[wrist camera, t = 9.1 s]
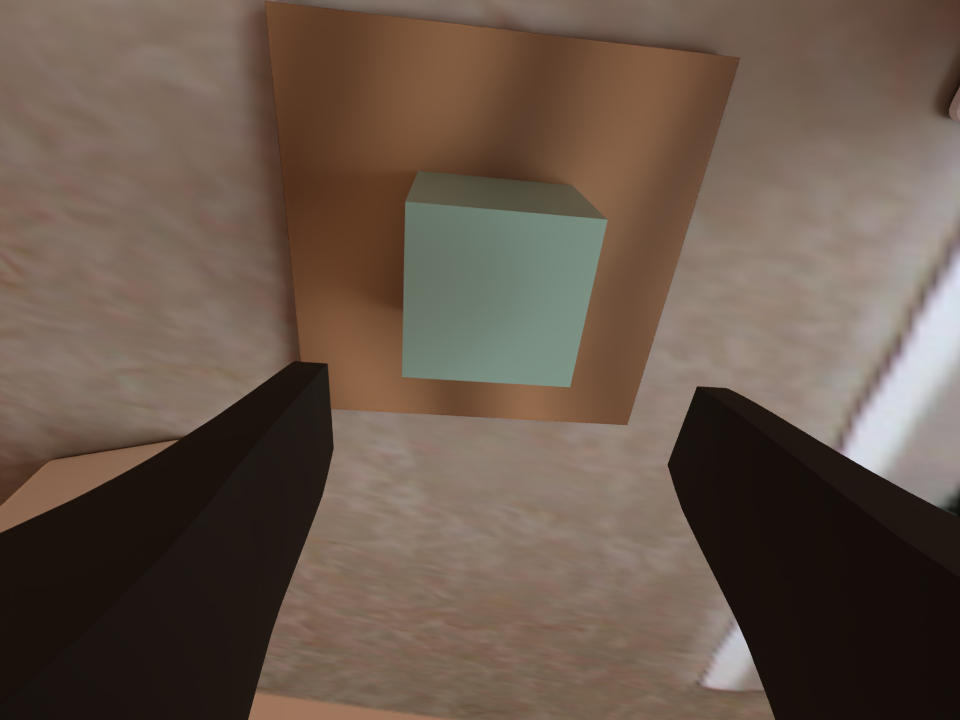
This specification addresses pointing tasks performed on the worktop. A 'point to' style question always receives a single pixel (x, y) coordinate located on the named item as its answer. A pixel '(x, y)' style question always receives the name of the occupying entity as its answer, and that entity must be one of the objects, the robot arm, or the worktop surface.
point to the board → (484, 153)
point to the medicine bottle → (71, 481)
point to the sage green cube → (496, 279)
